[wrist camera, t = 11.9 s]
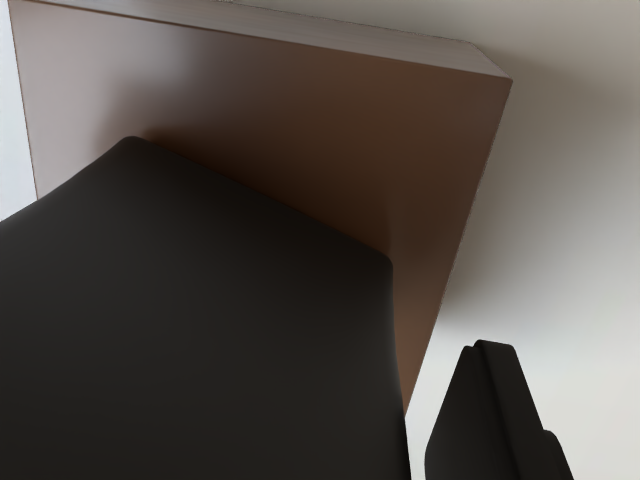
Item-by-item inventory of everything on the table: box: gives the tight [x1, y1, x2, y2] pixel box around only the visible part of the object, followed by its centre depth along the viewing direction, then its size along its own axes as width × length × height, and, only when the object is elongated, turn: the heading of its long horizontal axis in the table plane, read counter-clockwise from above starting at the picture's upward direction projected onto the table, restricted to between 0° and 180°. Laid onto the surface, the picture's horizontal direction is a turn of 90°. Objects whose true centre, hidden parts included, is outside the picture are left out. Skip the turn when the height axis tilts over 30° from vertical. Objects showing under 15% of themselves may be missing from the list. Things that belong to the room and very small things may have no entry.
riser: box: [8, 0, 513, 418], centre depth 14 cm, size 10×10×5 cm
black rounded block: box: [0, 136, 411, 480], centre depth 7 cm, size 7×4×11 cm, turn 64°
